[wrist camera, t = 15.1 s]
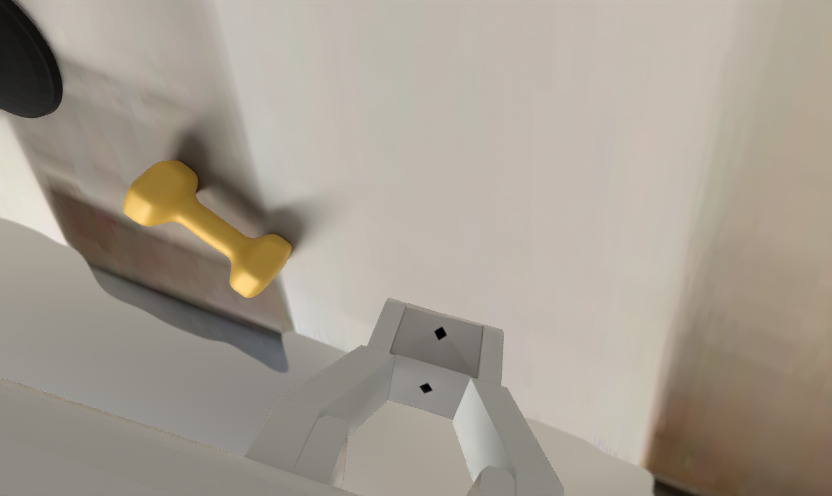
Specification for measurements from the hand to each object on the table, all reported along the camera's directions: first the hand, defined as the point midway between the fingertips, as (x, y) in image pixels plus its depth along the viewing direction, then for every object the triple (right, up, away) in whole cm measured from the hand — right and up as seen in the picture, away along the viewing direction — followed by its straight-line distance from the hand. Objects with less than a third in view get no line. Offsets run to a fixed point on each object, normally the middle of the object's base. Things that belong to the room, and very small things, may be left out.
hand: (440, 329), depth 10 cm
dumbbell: (-25, +7, +42) cm, 50 cm away
